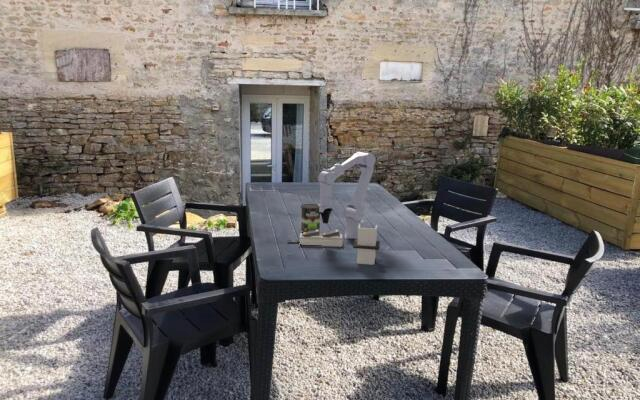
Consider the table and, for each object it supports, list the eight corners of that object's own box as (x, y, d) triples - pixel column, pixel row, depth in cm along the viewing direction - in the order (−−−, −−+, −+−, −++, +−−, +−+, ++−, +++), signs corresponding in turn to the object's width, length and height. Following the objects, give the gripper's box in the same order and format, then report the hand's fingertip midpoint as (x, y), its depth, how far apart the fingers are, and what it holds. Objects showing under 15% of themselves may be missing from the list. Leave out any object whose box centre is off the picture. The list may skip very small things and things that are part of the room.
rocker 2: (339, 232, 232) (338, 229, 232) (339, 234, 228) (338, 231, 228) (323, 236, 232) (322, 233, 232) (323, 238, 228) (322, 235, 228)
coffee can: (322, 233, 247) (322, 207, 244) (303, 234, 244) (303, 208, 241) (317, 228, 257) (317, 203, 254) (298, 229, 254) (299, 204, 251)
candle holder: (395, 255, 217) (397, 221, 213) (394, 274, 193) (396, 236, 190) (341, 251, 221) (342, 217, 217) (334, 269, 197) (335, 232, 194)
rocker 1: (319, 232, 232) (318, 228, 232) (319, 234, 228) (318, 231, 228) (303, 235, 232) (303, 232, 232) (303, 238, 228) (302, 234, 228)
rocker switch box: (341, 240, 235) (341, 233, 235) (342, 246, 227) (342, 238, 226) (288, 239, 235) (288, 232, 234) (287, 245, 227) (287, 237, 226)
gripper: (322, 192, 235) (322, 218, 238) (313, 198, 222) (312, 226, 225) (336, 193, 233) (335, 220, 236) (327, 199, 220) (326, 227, 223)
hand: (325, 223), depth 230 cm, fingers closed
